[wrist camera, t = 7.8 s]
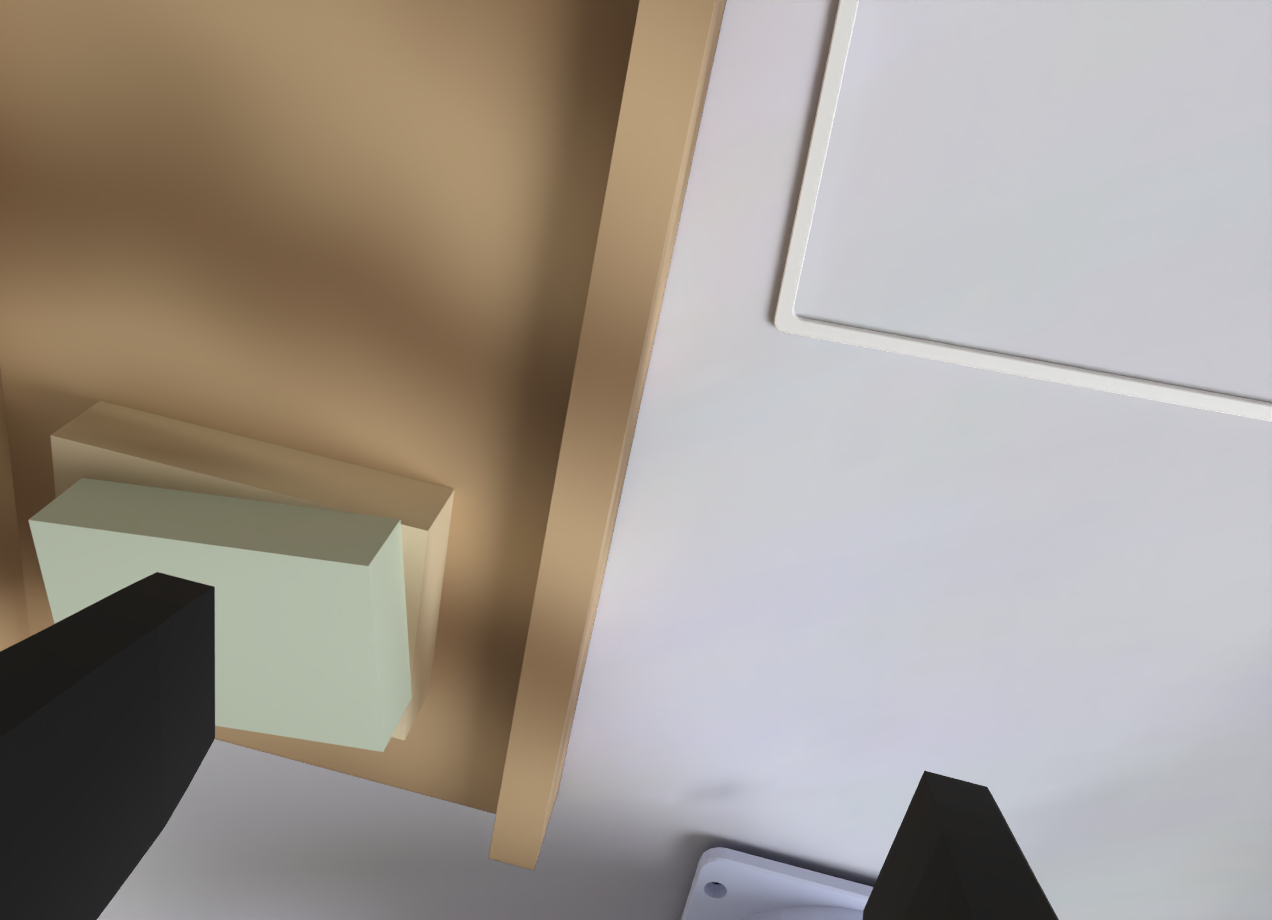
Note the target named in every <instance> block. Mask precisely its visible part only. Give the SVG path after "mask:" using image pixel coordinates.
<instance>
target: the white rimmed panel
mask: <svg viewBox="0 0 1272 920" xmlns="http://www.w3.org/2000/svg"><path fill="white" fill-rule="evenodd" d="M858 3H859V0H839V3H838V8H837V13H836V18H835V23H834V28H833V33H832V37H831V42H830V47H829V52H828V57H827V62H826V67H825V72H824V77H823V81H822V86H821V91H820V96H819V101H818V106H817V111H816V116H815V121H814V125H813V130H812V135H811V140H810V145H809V150H808V155H807V160H806V164H805V169H804V174H803V179H802V184H801V189H800V194H799V199H798V204H797V208H796V213H795V218H794V223H793V228H792V233H791V238H790V243H789V248H788V252H787V257H786V262H785V267H784V272H783V277H782V282H781V287H780V291H779V296H778V301H777V306H776V311H775V316H774V326H775V328H776V329H777V330H778V331H780V332H783V333H788V334H794V335H799V336H805V337H810V338H816V339H821V340H827V341H832V342H838V343H843V344H849V345H854V346H859V347H865V348H870V349H876V350H881V351H887V352H892V353H898V354H903V355H909V356H914V357H920V358H925V359H931V360H936V361H941V362H947V363H952V364H958V365H963V366H969V367H974V368H980V369H985V370H991V371H996V372H1002V373H1007V374H1013V375H1018V376H1024V377H1029V378H1034V379H1040V380H1045V381H1051V382H1056V383H1062V384H1067V385H1073V386H1078V387H1084V388H1089V389H1095V390H1100V391H1106V392H1111V393H1117V394H1122V395H1127V396H1133V397H1138V398H1144V399H1149V400H1155V401H1160V402H1166V403H1171V404H1177V405H1182V406H1188V407H1193V408H1199V409H1204V410H1209V411H1215V412H1220V413H1226V414H1231V415H1237V416H1242V417H1248V418H1253V419H1259V420H1264V421H1270V422H1272V403H1269V402H1264V401H1258V400H1253V399H1247V398H1242V397H1236V396H1231V395H1225V394H1220V393H1214V392H1209V391H1203V390H1198V389H1192V388H1187V387H1181V386H1176V385H1170V384H1165V383H1159V382H1154V381H1148V380H1143V379H1137V378H1132V377H1126V376H1121V375H1115V374H1110V373H1104V372H1099V371H1093V370H1088V369H1082V368H1077V367H1071V366H1065V365H1060V364H1054V363H1049V362H1043V361H1038V360H1032V359H1027V358H1021V357H1016V356H1010V355H1005V354H999V353H994V352H988V351H983V350H977V349H972V348H966V347H961V346H955V345H950V344H944V343H939V342H933V341H928V340H922V339H917V338H911V337H906V336H900V335H895V334H889V333H884V332H878V331H873V330H867V329H862V328H856V327H851V326H845V325H840V324H834V323H829V322H823V321H818V320H812V319H807V318H802V317H799V316H798V315H797V314H796V313H795V311H794V304H795V299H796V294H797V290H798V285H799V280H800V276H801V271H802V266H803V262H804V257H805V252H806V247H807V243H808V238H809V233H810V229H811V224H812V219H813V215H814V210H815V205H816V201H817V196H818V191H819V186H820V182H821V177H822V172H823V168H824V163H825V158H826V154H827V149H828V144H829V140H830V135H831V130H832V125H833V121H834V116H835V111H836V107H837V102H838V97H839V93H840V88H841V83H842V78H843V74H844V69H845V64H846V60H847V55H848V50H849V46H850V41H851V36H852V32H853V27H854V22H855V17H856V13H857V8H858Z"/></svg>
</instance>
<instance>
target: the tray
mask: <svg viewBox="0 0 1272 920" xmlns="http://www.w3.org/2000/svg"><path fill="white" fill-rule="evenodd" d="M725 5H726V0H0V651H2V650H4V649H6V648H8V647H10V646H12V645H14V644H16V643H18V642H20V641H22V640H24V639H26V638H28V637H30V636H32V635H34V634H36V633H38V632H40V631H42V630H44V629H46V628H48V627H50V626H52V625H53V624H54V620H53V616H52V612H51V608H50V604H49V600H48V596H47V592H46V588H45V584H44V580H43V576H42V572H41V568H40V564H39V560H38V557H37V553H36V549H35V545H34V541H33V537H32V533H31V529H30V525H29V521H28V520H29V519H30V518H31V517H33V516H34V515H35V514H37V513H38V512H39V511H40V510H42V509H43V508H44V507H45V506H47V505H48V504H49V503H51V502H52V501H53V500H54V499H56V494H55V482H54V471H53V459H52V448H51V436H50V435H52V434H53V433H54V432H56V431H57V430H59V429H60V428H62V427H63V426H64V425H66V424H67V423H69V422H70V421H72V420H73V419H75V418H76V417H77V416H79V415H80V414H82V413H83V412H85V411H86V410H87V409H89V408H90V407H92V406H93V405H95V404H96V403H97V402H99V401H104V402H108V403H112V404H116V405H120V406H124V407H128V408H132V409H136V410H140V411H144V412H148V413H152V414H156V415H160V416H164V417H168V418H172V419H176V420H180V421H184V422H188V423H192V424H196V425H200V426H204V427H208V428H212V429H216V430H220V431H224V432H228V433H231V434H235V435H239V436H243V437H247V438H251V439H255V440H259V441H263V442H267V443H271V444H275V445H279V446H283V447H287V448H291V449H295V450H299V451H303V452H307V453H311V454H315V455H319V456H323V457H327V458H331V459H335V460H339V461H343V462H347V463H351V464H355V465H359V466H363V467H367V468H371V469H375V470H379V471H383V472H387V473H391V474H395V475H399V476H403V477H407V478H411V479H415V480H419V481H423V482H427V483H431V484H435V485H438V486H442V487H446V488H450V489H454V497H453V505H452V513H451V521H450V529H449V538H448V546H447V554H446V562H445V570H444V578H443V586H442V594H441V602H440V610H439V618H438V626H437V634H436V642H435V650H434V658H433V666H432V675H431V683H430V691H429V693H428V695H427V697H426V699H425V701H424V703H423V705H422V707H421V709H420V711H419V713H418V715H417V717H416V719H415V721H414V723H413V725H412V727H411V729H410V731H409V732H408V734H407V736H406V738H405V740H401V739H397V738H394V737H391V738H390V740H389V742H388V744H387V746H386V748H385V750H384V752H380V751H373V750H367V749H361V748H354V747H348V746H342V745H335V744H329V743H323V742H316V741H310V740H304V739H297V738H291V737H284V736H278V735H272V734H265V733H259V732H253V731H246V730H240V729H234V728H227V727H221V726H215V739H217V740H221V741H225V742H229V743H232V744H236V745H240V746H244V747H247V748H251V749H255V750H259V751H262V752H266V753H270V754H274V755H277V756H281V757H285V758H288V759H292V760H296V761H300V762H303V763H307V764H311V765H315V766H318V767H322V768H326V769H330V770H333V771H337V772H341V773H345V774H348V775H352V776H356V777H360V778H363V779H367V780H371V781H375V782H378V783H382V784H386V785H390V786H393V787H397V788H401V789H405V790H408V791H412V792H416V793H420V794H423V795H427V796H431V797H435V798H438V799H442V800H446V801H450V802H453V803H457V804H461V805H465V806H468V807H472V808H476V809H480V810H483V811H487V812H491V813H494V814H496V818H495V823H494V829H493V835H492V840H491V846H490V852H489V857H488V858H489V859H493V860H497V861H501V862H504V863H508V864H512V865H515V866H519V867H523V868H527V869H530V870H534V869H535V865H536V862H537V859H538V856H539V852H540V849H541V846H542V843H543V840H544V836H545V833H546V830H547V827H548V823H549V820H550V817H551V814H552V810H553V807H554V804H555V801H556V797H557V794H558V789H559V784H560V780H561V775H562V770H563V766H564V761H565V756H566V752H567V747H568V742H569V737H570V733H571V728H572V723H573V719H574V714H575V709H576V705H577V700H578V695H579V690H580V686H581V681H582V676H583V672H584V667H585V662H586V658H587V653H588V648H589V643H590V639H591V634H592V629H593V625H594V620H595V615H596V611H597V606H598V601H599V597H600V592H601V587H602V582H603V578H604V573H605V568H606V564H607V559H608V554H609V550H610V545H611V540H612V535H613V531H614V526H615V521H616V517H617V512H618V507H619V503H620V498H621V493H622V488H623V484H624V479H625V474H626V470H627V465H628V460H629V456H630V451H631V446H632V441H633V437H634V432H635V427H636V423H637V418H638V413H639V409H640V404H641V399H642V395H643V390H644V385H645V380H646V376H647V371H648V366H649V362H650V357H651V352H652V348H653V343H654V338H655V333H656V329H657V324H658V319H659V315H660V310H661V305H662V301H663V296H664V291H665V286H666V282H667V277H668V272H669V268H670V263H671V258H672V254H673V249H674V244H675V239H676V235H677V230H678V225H679V221H680V216H681V211H682V207H683V202H684V197H685V193H686V188H687V183H688V178H689V174H690V169H691V164H692V160H693V155H694V150H695V146H696V141H697V136H698V131H699V127H700V122H701V117H702V113H703V108H704V103H705V99H706V94H707V89H708V84H709V80H710V75H711V70H712V66H713V61H714V56H715V52H716V47H717V42H718V37H719V33H720V28H721V23H722V19H723V14H724V9H725Z"/></svg>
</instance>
